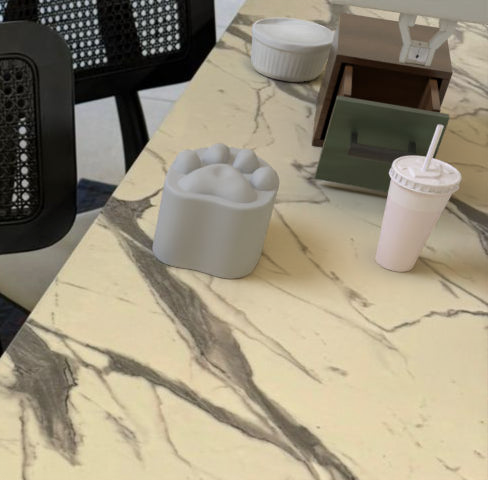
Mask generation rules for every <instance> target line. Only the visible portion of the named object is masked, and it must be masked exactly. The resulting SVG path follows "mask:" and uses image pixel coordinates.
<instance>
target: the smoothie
mask: <svg viewBox="0 0 488 480" xmlns="http://www.w3.org/2000/svg"><path fill="white" fill-rule="evenodd" d="M443 127H444V126H443V125H437V128H436V131H435V133H434V136H433V139H432V142H431V145H430V148H429V150H428V153H427V156H426V157H425V156H403V157H400V158H397V159H396V160H394V161H393V164H392V167H391V169H390V171H389V175H390V177H391V182H390V186H389V191H388V192H387V198H386V202H385V207H384V212H383V217H382V222H381V227H380V232H379V236H378V237H379V238H378V242H377V247H376V253H375V257H374V261H375V262H376V264H378V265H379V266H380V267H382V268H383V269H386V270H389V271H392V272H396V273H399V272H400V273H404V272H405V273H407V272H409V271H411V270H413V268H414V266H415V265H416V263H417V260H418V259H419V257H420V255H421V254H422V251H423V250H424V247H425V246H426V244H427V242H428V240H429V238H430V237H431V234H432V232H433V231H434V229H435V227H436V225H437V223H438V221H439V219H440V217H441V215H442V214H443V212H444V210H445V208H446V206H447V205H448V203H449V201H450V199H451V196H452V195H453V194H454V193H456V192H458V190H459V189H460V184H461V182H462V179H463V176H462V174H461V172H460V171H459V170H458V169H457V168H456V167H454V166H453V165H451V164H450V163H447V162H445V161H443V160H441V159H437V158H435V159H434V158H433V155H434V152H435V149H436V147H437V144H438V141H439V138H440V136H441V133H442V130H443Z"/></svg>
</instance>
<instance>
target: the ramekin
mask: <svg viewBox="0 0 488 480" xmlns="http://www.w3.org/2000/svg"><path fill="white" fill-rule="evenodd" d="M251 35H252V37H251V49H250V51H251V52H250V62H251V65H252V67H253V70H255V71H256V72H257V73H259V74H260V75H262V76H265V77H268V78H271V79H274V80H278V81H283V82H290V83H304V81H305V82H309V81H312V80H315V79H316V78H317V77H318V76H320V75H321V74H322V73H323V71H324V70H325V67H326V64H327V60H328V57H329V53H330V49H331V46H332V42H333V38H334V35H335V31H333V30H331V29H330V28H328V27H327V26H324V25H322V24H319V23H316V22H312V21H308V20H304V19H300V18H299V19H298V18H294V17H293V18H292V17H280V16H279V17H278V16H277V17H265V18H261V19H260V18H259V19H258V20H256V21H255V22H254V23H253V24H252V28H251Z"/></svg>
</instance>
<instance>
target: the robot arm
mask: <svg viewBox="0 0 488 480" xmlns="http://www.w3.org/2000/svg"><path fill="white" fill-rule="evenodd" d="M328 2H329V3H330V4H334V5H343V6H347V7H348V6H349V7H354V8H362V9H370V10H377V11H383V12H384V11H385V12H391V13H398V14H399V15H398V21H399V28H400V32H401V36H402V40H403V46H402V49H401V52H400V57H399V62H401V63H409V64H415V65H421V66H428V67H430V65H431V62H432V59H433V56H434V53H435V50H436V49H438V48H439V47H440V46H441V45H442V44H443V43H444V42H445V41H446V40H447V39H448V40H449V39H450V37H452V35H454V33H455V30H456V29H457V24H458V22H462V23H469V24H476V25H482V26H483V25H484V26H488V0H328ZM418 16H419V17H424V18H425V17H426V18H433V19H438V28H439V31H438V32H437V33H436V34H435V35H434V36H433V37H432V39H431V40H430V41H429V42H422V41H415V40H411V36H410V31H409V27H408V26H411V27H413V26H414V24H416V21H417V18H418Z"/></svg>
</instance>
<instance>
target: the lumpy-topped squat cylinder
mask: <svg viewBox="0 0 488 480" xmlns="http://www.w3.org/2000/svg"><path fill="white" fill-rule="evenodd" d="M279 187H280V177H279V175H278V173H277V171H276V169H274V168H273V167H272V166H271V165H270V164H269V163H268V162H267V161H265V160H264V159H263V158H261V157H259V156H258V155H257V154H256V152H255V150H253V149H250V148H243V149H242V148H239V147H238V148H237V147H232V146H228V145H227V144H225V143H220V142H219V143H218V142H217V143H215V144H212V145H211V146H207V147H206V146H205V147H200V148H196V149H183V150H181V151H180V152H179V153H177V155H176V156H175V158H174V161H173V162H171V164H170V166H169V168H168V170H167V172H166V174H165V178H164V182H163V188H162V193H161V199H160V203H159V209H158V214H157V220H156V224H155V225H156V226H155V231H154V236H153V242H152V254H153V255H154V256H155V258H156V259H157V260H158V261H160V262H162V263H163V264H165V265H168V266H170V267H174V268H179V269H186V270H192V271H197V272H201V273H204V274H207V275H210V276H214V277H216V278H220V279H228V280H234V279H242V278H244V277H247V276H249V275H250V274H251V273H252V272H254V270H255V268H256V267H257V265H258V264H259V262H260V259H261V256H262V252H263V249H264V245H265V241H266V238H267V234H268V231H269V226H270V222H271V220H272V219H271V218H272V214H273V210H274V207H275V203H276V200H277V196H278V191H279Z"/></svg>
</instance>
